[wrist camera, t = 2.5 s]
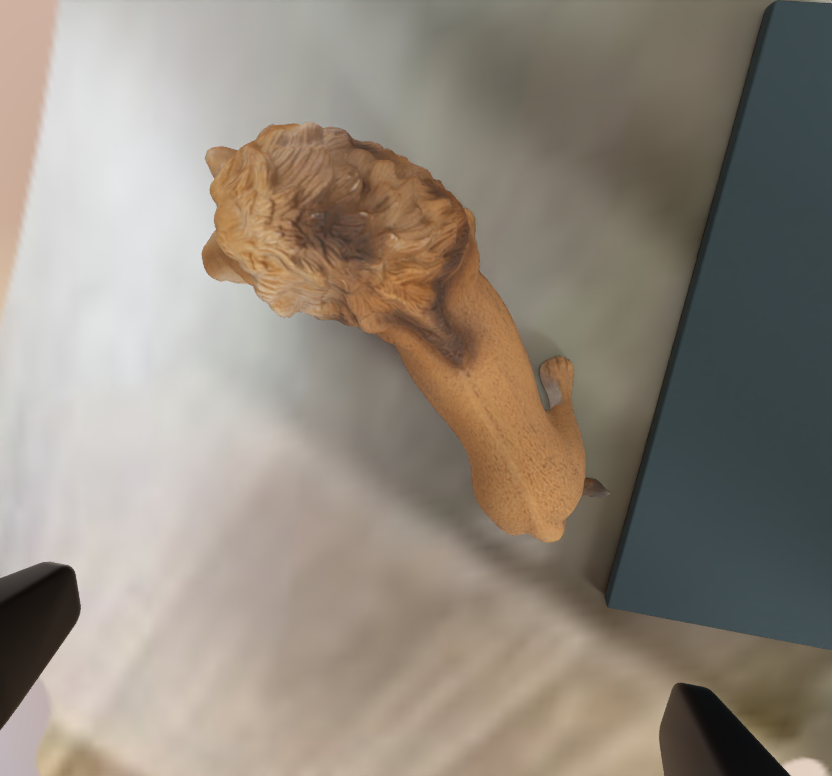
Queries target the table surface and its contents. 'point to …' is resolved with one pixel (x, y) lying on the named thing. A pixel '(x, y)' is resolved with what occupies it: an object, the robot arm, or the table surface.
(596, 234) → the table surface
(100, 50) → the table surface
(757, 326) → the dark teal mat
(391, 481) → the table surface
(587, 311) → the table surface
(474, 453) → the lion figurine
